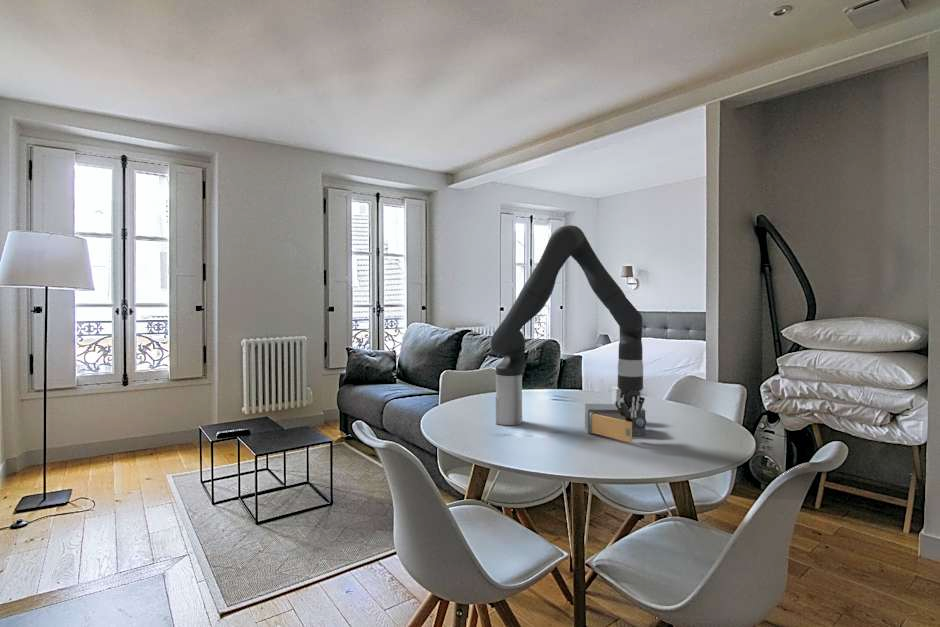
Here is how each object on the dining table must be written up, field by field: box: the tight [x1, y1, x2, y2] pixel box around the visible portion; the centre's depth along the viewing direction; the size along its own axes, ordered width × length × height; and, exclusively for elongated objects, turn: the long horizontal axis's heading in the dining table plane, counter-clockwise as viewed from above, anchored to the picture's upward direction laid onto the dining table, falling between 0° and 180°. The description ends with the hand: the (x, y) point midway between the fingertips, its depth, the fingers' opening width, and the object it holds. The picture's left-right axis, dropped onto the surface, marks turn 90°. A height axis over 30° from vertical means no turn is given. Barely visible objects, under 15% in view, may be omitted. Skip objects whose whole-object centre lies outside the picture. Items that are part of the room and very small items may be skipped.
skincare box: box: [611, 386, 621, 404], centre depth 182 cm, size 6×4×12 cm
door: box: [589, 412, 633, 443], centre depth 159 cm, size 15×2×7 cm, turn 39°
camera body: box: [584, 403, 647, 436], centre depth 168 cm, size 18×11×9 cm, turn 84°
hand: (630, 429), depth 157 cm, fingers closed
